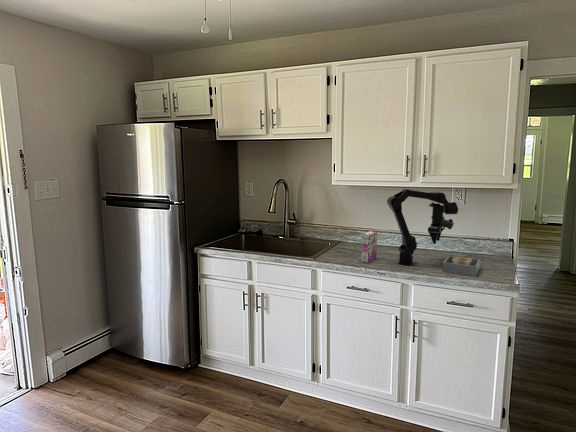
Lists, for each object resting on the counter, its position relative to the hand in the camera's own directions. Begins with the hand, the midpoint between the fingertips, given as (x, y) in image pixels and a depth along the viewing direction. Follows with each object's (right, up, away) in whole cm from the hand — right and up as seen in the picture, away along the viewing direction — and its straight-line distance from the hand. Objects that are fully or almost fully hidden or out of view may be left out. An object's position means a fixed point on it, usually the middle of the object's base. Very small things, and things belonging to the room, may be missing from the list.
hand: (436, 242), depth 228 cm
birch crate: (+9, -13, -13) cm, 20 cm away
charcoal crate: (+9, -14, -13) cm, 21 cm away
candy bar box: (-36, -11, +7) cm, 39 cm away
